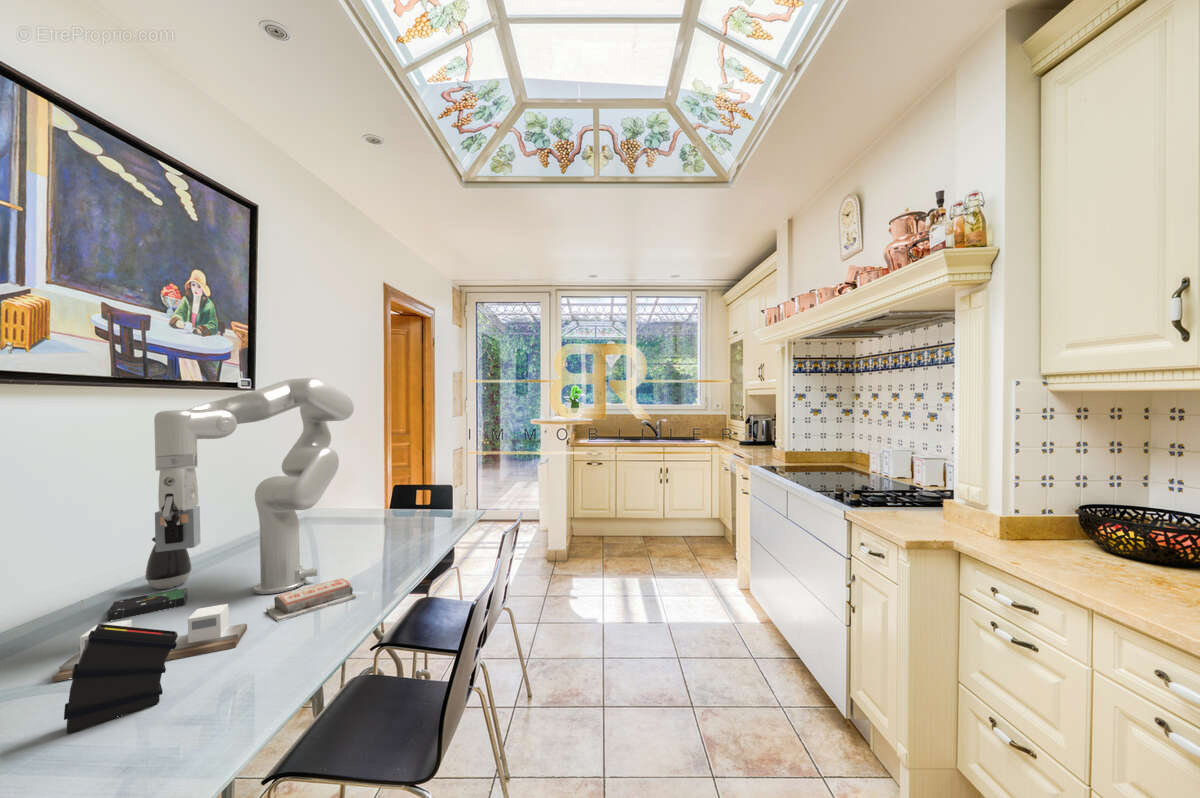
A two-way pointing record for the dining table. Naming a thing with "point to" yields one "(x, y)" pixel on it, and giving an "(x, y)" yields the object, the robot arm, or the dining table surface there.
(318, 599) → the packaged product
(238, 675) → the dining table surface
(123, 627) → the black ridged block
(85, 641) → the block
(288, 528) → the robot arm
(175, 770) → the dining table surface
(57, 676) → the rail board
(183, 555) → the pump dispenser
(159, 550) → the block
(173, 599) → the disk drive
